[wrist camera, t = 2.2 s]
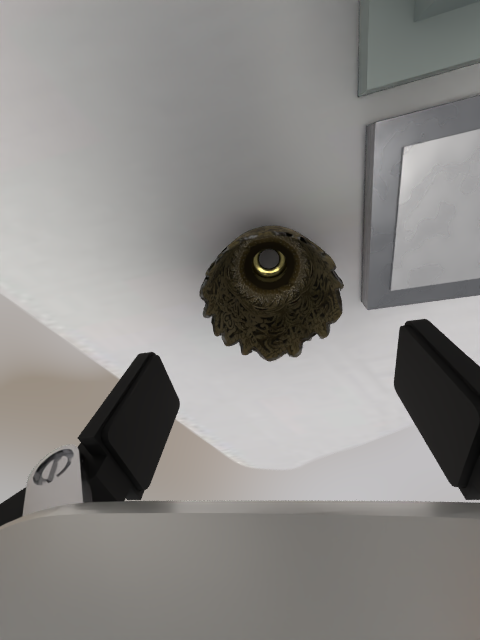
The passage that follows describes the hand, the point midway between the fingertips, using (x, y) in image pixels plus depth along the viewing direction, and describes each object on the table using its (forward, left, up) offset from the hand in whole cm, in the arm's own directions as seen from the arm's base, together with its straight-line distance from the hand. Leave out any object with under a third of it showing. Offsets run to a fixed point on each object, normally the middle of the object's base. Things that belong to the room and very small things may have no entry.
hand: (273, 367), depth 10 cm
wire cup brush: (-1, 0, -12) cm, 12 cm away
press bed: (-2, +13, -12) cm, 18 cm away
